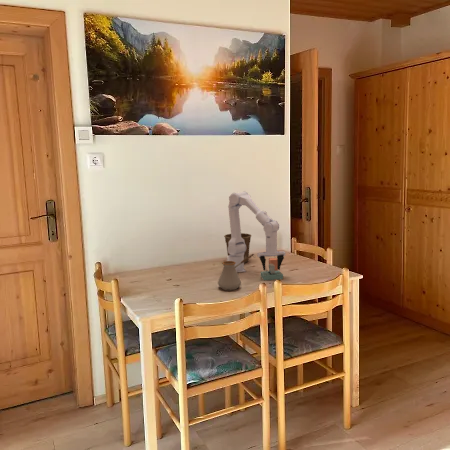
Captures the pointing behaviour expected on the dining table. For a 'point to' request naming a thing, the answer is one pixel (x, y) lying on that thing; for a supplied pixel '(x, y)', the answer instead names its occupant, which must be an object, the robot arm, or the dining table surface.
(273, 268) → the steel bar
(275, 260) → the square peg
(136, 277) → the dining table surface
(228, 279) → the coffee pot
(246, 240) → the plant pot
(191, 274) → the dining table surface
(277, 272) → the slot block
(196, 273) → the dining table surface
